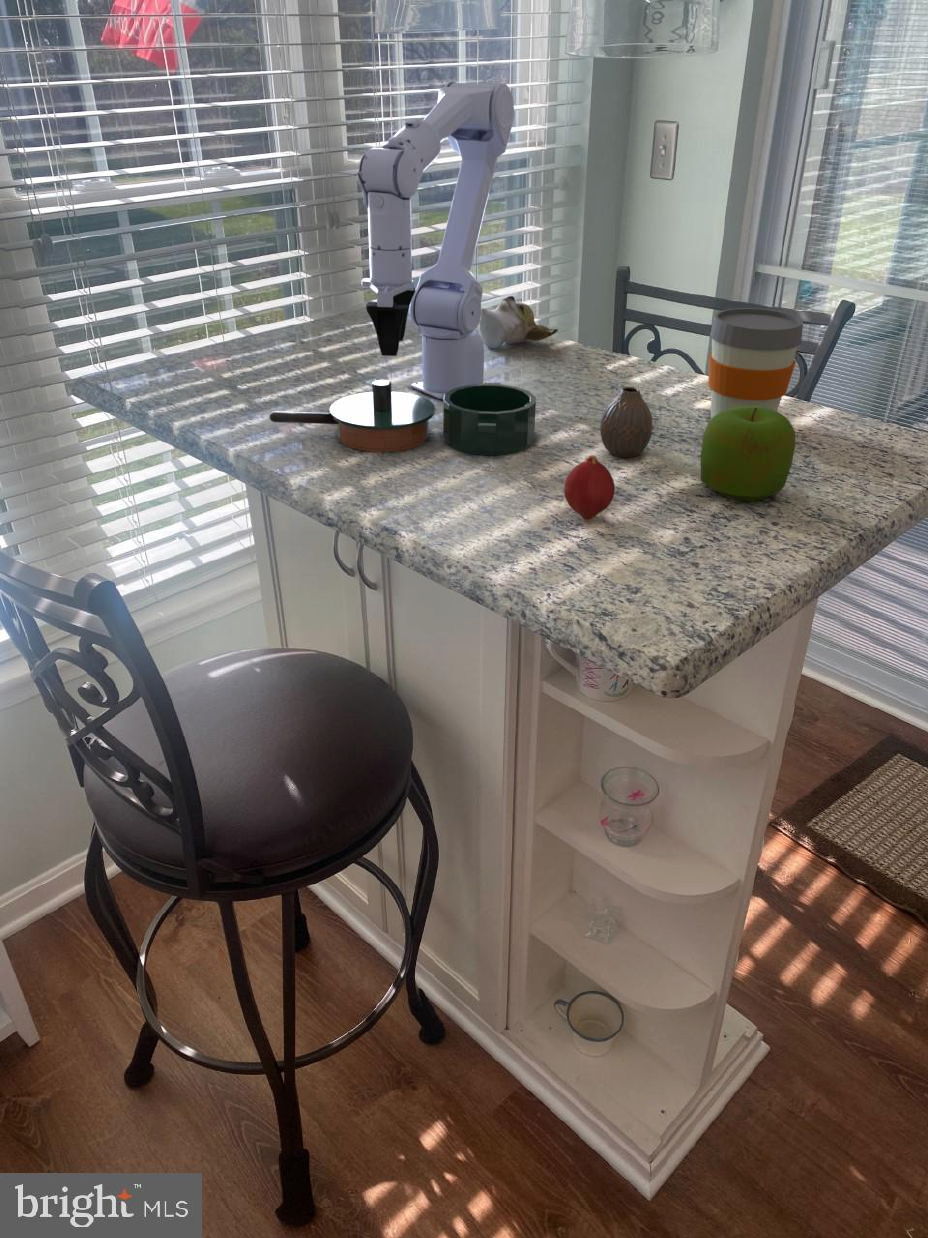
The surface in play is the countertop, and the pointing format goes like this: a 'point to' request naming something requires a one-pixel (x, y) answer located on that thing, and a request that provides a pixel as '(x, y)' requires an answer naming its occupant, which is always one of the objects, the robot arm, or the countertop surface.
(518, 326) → the ceramic sculpture
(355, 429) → the pan
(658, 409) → the countertop surface
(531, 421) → the pot
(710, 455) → the apple
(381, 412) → the lid
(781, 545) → the countertop surface
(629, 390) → the vase
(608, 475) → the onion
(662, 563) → the countertop surface
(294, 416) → the pan handle
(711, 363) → the reusable coffee cup
